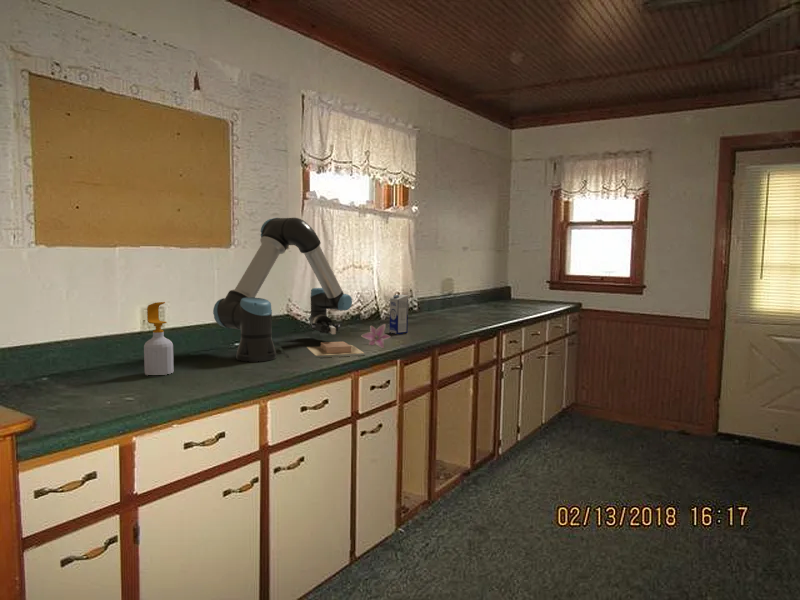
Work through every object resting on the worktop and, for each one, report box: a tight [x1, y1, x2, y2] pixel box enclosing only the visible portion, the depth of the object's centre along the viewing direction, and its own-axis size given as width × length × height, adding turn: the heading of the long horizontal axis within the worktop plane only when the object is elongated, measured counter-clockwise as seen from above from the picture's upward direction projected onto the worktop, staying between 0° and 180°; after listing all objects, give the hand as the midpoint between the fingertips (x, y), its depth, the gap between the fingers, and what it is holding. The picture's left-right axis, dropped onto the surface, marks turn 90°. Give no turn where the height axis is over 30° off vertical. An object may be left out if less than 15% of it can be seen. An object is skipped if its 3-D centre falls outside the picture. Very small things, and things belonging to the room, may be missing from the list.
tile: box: [320, 341, 351, 354], centre depth 231 cm, size 10×3×12 cm
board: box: [306, 344, 365, 359], centre depth 233 cm, size 20×20×1 cm
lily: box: [360, 323, 392, 349], centre depth 249 cm, size 12×12×10 cm
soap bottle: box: [143, 301, 175, 376], centre depth 190 cm, size 9×9×25 cm
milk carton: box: [389, 294, 409, 335], centre depth 288 cm, size 7×7×20 cm
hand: (333, 331), depth 235 cm, fingers closed
